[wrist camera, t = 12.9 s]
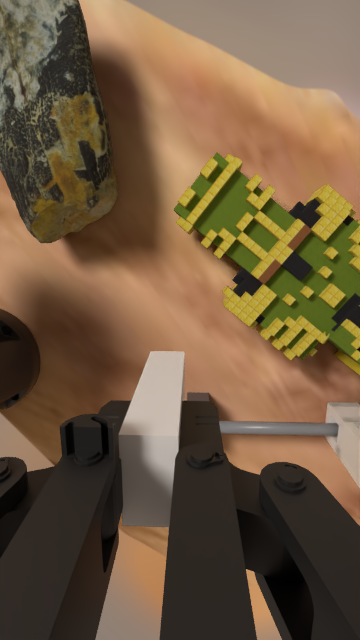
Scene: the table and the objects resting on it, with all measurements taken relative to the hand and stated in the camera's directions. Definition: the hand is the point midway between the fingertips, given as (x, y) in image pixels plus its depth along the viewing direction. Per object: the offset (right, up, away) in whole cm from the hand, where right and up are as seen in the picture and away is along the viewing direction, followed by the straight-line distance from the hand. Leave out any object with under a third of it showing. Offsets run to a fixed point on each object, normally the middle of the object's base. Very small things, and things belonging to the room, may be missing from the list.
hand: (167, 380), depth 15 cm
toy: (+14, +10, +29) cm, 34 cm away
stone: (-14, +26, +26) cm, 39 cm away
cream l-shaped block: (+23, -11, +31) cm, 40 cm away
